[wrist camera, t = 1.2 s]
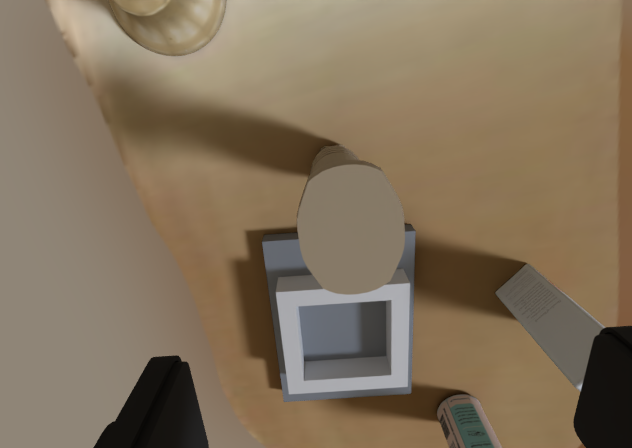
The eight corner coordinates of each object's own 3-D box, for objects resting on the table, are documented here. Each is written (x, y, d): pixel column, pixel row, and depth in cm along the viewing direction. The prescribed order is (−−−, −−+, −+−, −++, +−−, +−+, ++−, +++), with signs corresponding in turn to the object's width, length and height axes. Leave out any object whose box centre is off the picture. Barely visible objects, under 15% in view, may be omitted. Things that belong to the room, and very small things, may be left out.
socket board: (264, 234, 33) (258, 255, 30) (411, 224, 33) (423, 243, 30) (284, 390, 40) (282, 422, 36) (407, 382, 40) (417, 414, 36)
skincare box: (568, 295, 36) (682, 393, 25) (533, 324, 37) (627, 430, 26) (526, 260, 35) (628, 347, 24) (491, 291, 36) (572, 389, 25)
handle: (309, 202, 32) (308, 299, 18) (299, 126, 30) (288, 172, 16) (365, 195, 32) (407, 288, 18) (359, 118, 30) (401, 157, 16)
